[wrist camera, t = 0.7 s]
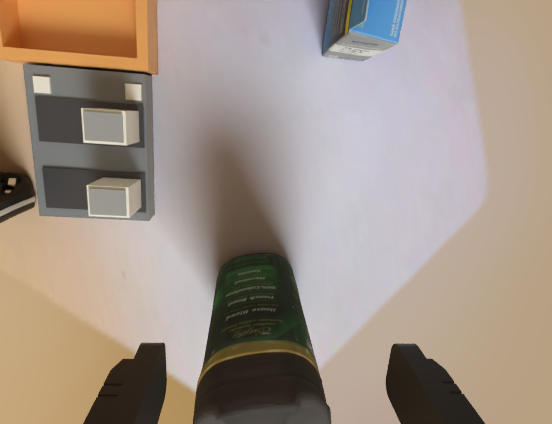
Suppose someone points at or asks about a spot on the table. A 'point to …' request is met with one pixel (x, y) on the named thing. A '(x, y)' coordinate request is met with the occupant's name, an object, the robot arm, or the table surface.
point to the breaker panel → (69, 137)
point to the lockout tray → (81, 34)
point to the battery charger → (15, 195)
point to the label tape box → (362, 28)
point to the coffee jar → (259, 350)
